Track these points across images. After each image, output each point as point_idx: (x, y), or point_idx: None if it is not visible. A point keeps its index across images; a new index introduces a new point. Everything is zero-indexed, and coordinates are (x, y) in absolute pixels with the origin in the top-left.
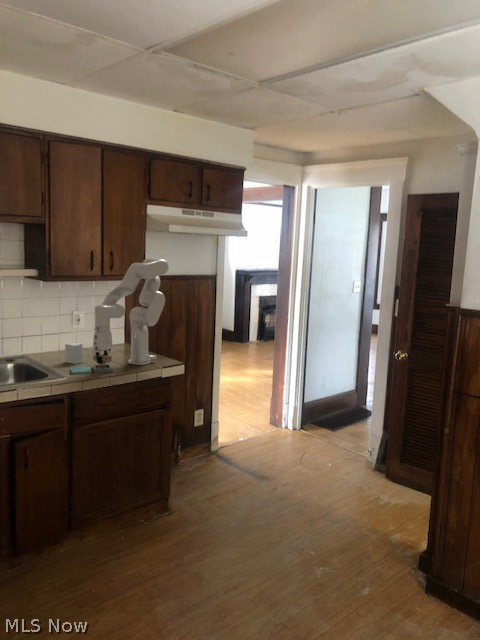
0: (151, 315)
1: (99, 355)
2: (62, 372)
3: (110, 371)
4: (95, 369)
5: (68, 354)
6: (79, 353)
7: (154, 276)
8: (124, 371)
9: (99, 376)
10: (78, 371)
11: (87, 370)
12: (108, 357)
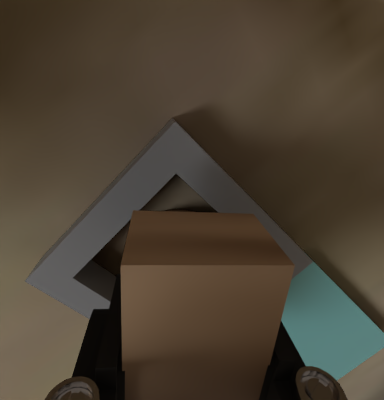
0: None
1: (340, 390)
2: (355, 389)
3: (196, 142)
4: (302, 251)
5: None
6: None
7: None
8: (70, 8)
9: (379, 129)
10: (355, 327)
11: (304, 301)
12: (224, 255)
